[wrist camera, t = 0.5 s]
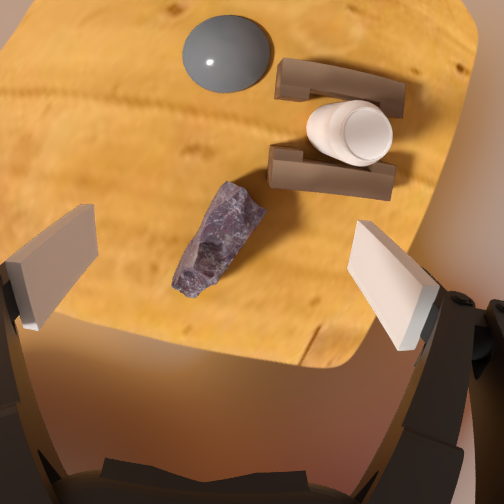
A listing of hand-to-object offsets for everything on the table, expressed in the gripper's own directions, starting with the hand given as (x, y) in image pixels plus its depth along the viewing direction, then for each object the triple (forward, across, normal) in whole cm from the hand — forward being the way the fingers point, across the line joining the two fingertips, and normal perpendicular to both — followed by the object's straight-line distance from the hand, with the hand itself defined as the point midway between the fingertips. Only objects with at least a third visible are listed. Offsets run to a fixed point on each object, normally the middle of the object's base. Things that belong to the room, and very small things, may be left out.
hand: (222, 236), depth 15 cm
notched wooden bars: (+24, +11, +5) cm, 27 cm away
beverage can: (+24, +11, +5) cm, 27 cm away
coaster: (+24, -2, +13) cm, 28 cm away
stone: (+24, -2, -9) cm, 26 cm away
